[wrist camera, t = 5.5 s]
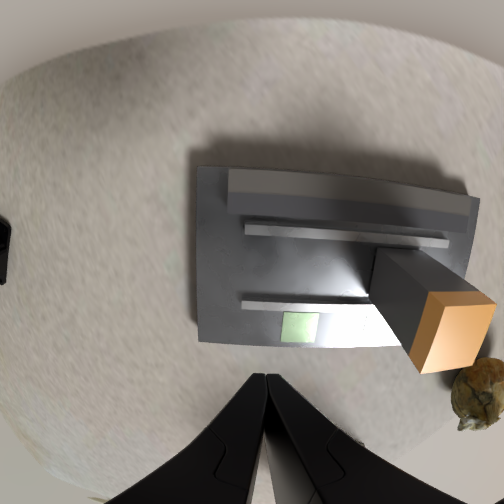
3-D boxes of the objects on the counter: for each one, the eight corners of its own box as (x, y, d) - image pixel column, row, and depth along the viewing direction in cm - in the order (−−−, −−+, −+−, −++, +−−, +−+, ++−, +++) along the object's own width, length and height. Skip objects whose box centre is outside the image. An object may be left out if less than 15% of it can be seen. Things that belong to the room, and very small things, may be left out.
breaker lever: (368, 297, 19) (420, 374, 11) (377, 247, 18) (445, 306, 10) (410, 297, 19) (472, 365, 11) (421, 250, 18) (496, 304, 10)
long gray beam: (229, 209, 18) (227, 213, 17) (230, 167, 17) (228, 168, 16) (456, 229, 18) (466, 233, 16) (461, 195, 17) (471, 197, 16)
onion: (455, 407, 25) (482, 452, 18) (429, 386, 24) (461, 440, 16) (500, 362, 24) (534, 402, 16) (481, 332, 22) (525, 378, 14)
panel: (202, 330, 22) (196, 346, 20) (201, 165, 18) (195, 166, 16) (436, 332, 22) (447, 344, 20) (468, 195, 18) (484, 199, 16)
